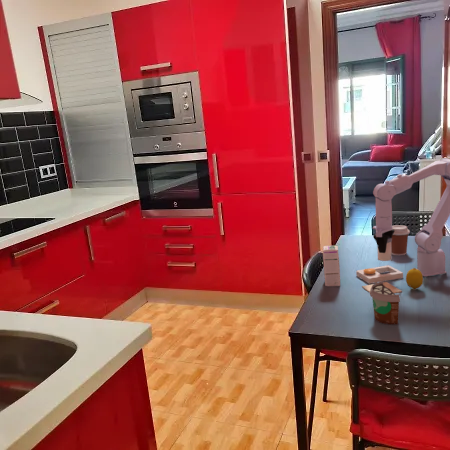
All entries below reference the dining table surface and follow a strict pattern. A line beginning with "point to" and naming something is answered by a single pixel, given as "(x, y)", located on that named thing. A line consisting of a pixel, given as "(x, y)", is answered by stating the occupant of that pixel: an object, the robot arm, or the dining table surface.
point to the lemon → (414, 278)
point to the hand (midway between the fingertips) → (384, 250)
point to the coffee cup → (399, 240)
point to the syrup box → (331, 265)
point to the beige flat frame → (379, 277)
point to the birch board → (386, 284)
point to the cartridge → (387, 254)
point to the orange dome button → (369, 271)
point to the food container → (385, 304)
